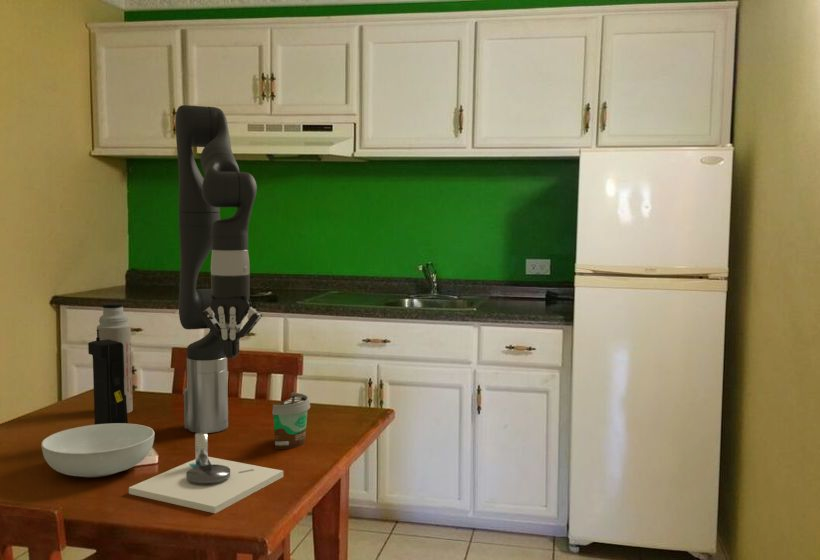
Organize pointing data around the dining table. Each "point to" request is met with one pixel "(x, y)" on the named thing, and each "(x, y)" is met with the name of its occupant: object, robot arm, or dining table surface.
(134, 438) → the serving bowl
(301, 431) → the food container
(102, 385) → the portable radio
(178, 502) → the dial plate
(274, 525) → the dining table surface
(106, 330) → the thermos bottle
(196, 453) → the dial
